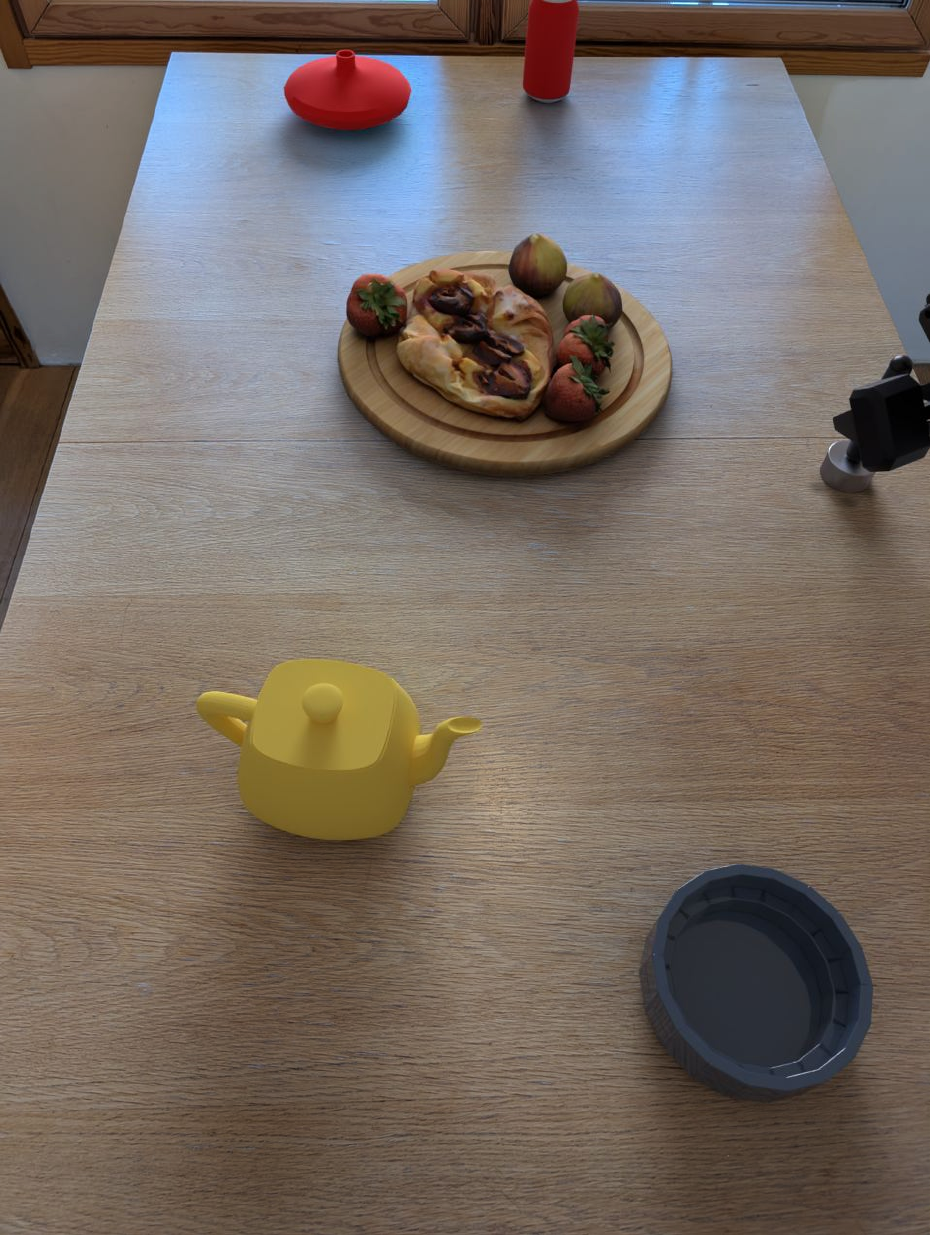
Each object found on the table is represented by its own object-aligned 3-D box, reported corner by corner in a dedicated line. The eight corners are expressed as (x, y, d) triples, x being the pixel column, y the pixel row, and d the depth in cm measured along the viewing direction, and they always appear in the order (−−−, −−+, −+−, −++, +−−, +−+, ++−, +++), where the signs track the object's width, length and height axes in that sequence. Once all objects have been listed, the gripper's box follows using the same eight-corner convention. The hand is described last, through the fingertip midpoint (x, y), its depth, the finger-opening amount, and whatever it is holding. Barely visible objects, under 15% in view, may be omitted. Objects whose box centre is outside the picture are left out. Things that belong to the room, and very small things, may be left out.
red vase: (392, 154, 113) (390, 93, 107) (268, 134, 115) (260, 73, 109) (425, 94, 122) (425, 35, 116) (310, 76, 124) (304, 17, 118)
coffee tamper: (871, 464, 85) (934, 346, 74) (868, 498, 82) (933, 381, 72) (822, 452, 85) (878, 334, 75) (817, 486, 83) (875, 368, 72)
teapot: (485, 729, 67) (494, 646, 59) (463, 877, 61) (469, 807, 52) (241, 694, 68) (214, 607, 60) (194, 836, 62) (156, 761, 53)
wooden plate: (274, 413, 86) (261, 338, 79) (428, 237, 103) (428, 163, 96) (602, 531, 79) (618, 461, 72) (708, 321, 96) (729, 248, 89)
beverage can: (573, 106, 122) (586, 2, 112) (526, 107, 121) (534, 3, 111) (563, 83, 125) (575, -19, 115) (518, 84, 124) (526, -18, 115)
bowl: (848, 925, 60) (878, 899, 56) (833, 1137, 53) (865, 1125, 49) (658, 866, 62) (674, 837, 58) (618, 1063, 55) (633, 1046, 51)
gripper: (1133, 231, 64) (945, 282, 78) (926, 298, 58) (766, 339, 73) (1154, 392, 66) (968, 412, 81) (957, 470, 61) (796, 477, 75)
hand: (878, 407), depth 77 cm, fingers open, 9 cm apart
